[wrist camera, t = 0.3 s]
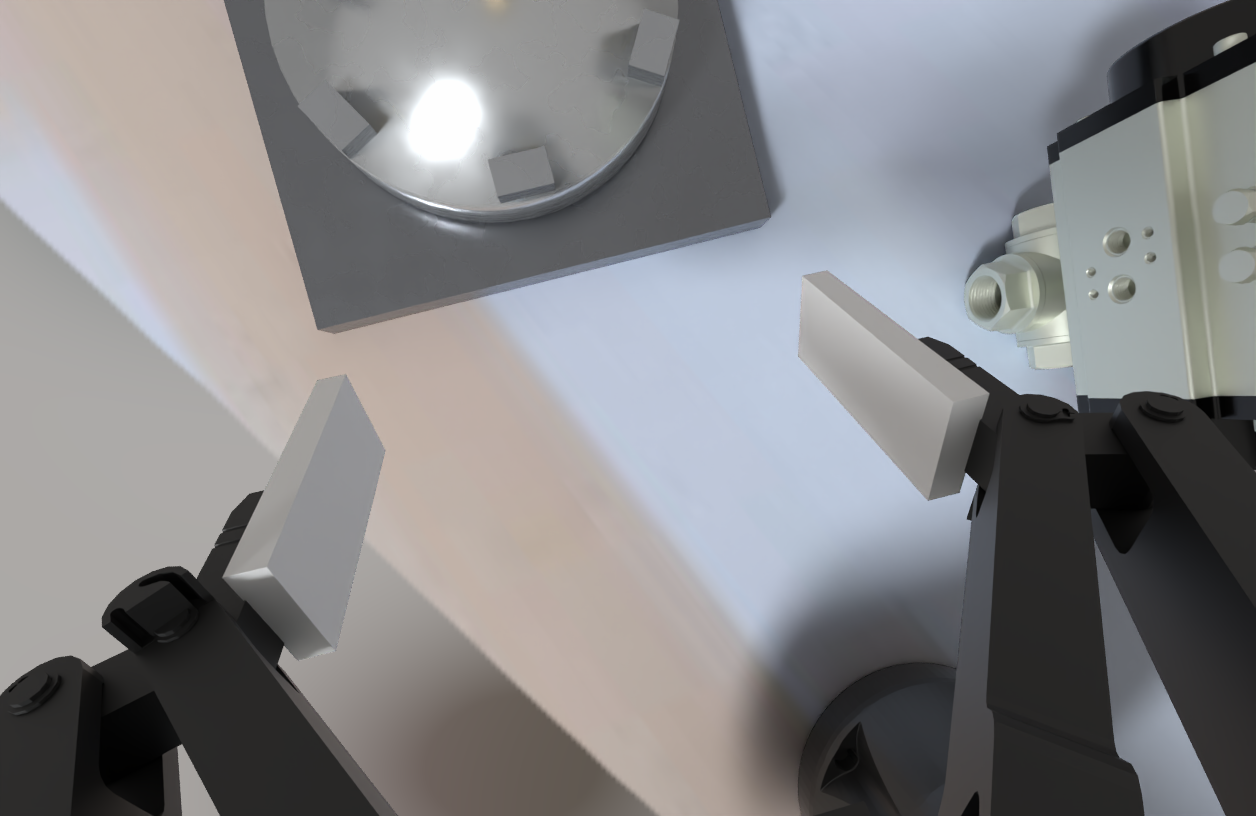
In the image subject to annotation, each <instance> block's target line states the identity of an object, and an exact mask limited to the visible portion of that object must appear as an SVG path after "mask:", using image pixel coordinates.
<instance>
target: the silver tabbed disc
mask: <svg viewBox="0 0 1256 816" xmlns="http://www.w3.org/2000/svg"><path fill="white" fill-rule="evenodd" d="M264 3H265V16H266V20H267V25H268V30H269V35H270V39H271V44H272V46H273V49H274V52H275V55H276V58H277V61H278V63H279V66H280V69H281V71H282V73H283V75H284V77H285V79H286V81H287V83H288V85H289V87H290V89H291V91H292V93H293V95H294V96H295V98H296V99H297V101H298V102H299V105H298V107H299V108H300V109H301V110H302V111H303V112H304V113H305V114H306V115H307V116H308V117H309V119H310V120H311V121H312V122H313V123H314V124H315V125H316V127H317V128H318V129H319V130H320V131H321V132H322V133H323V135H324V136H325V137H326V138H327V139H328V140H329V141H330V142H331V143H332V144H333V145H334V146H335V147H336V148H337V149H338V150H339V151H340V152H341V153H342V154H343V155H344V156H346V157H347V158H348V159H349V160H350V161H351V162H352V163H353V164H354V165H355V166H356V167H357V168H358V169H359V170H361V171H362V172H363V173H364V174H365V175H366V176H367V177H368V178H370V179H371V180H372V181H373V182H374V183H376V184H377V185H379V186H380V187H382V188H383V189H385V190H386V191H388V192H389V193H391V194H392V195H394V196H395V197H397V198H399V199H401V200H403V201H405V202H407V203H409V204H411V205H413V206H415V207H417V208H420V209H423V210H426V211H428V212H431V213H434V214H437V215H440V216H444V217H449V218H453V219H458V220H462V221H472V222H483V223H497V222H514V221H520V220H525V219H531V218H536V217H539V216H542V215H546V214H549V213H552V212H555V211H558V210H560V209H562V208H565V207H567V206H569V205H571V204H573V203H575V202H577V201H579V200H581V199H582V198H584V197H586V196H587V195H589V194H590V193H592V192H593V191H595V190H596V189H598V188H599V187H601V186H602V185H603V184H604V183H605V182H606V181H608V180H609V179H610V178H611V177H612V176H613V175H615V174H616V173H617V172H618V171H619V170H620V168H621V167H622V166H623V165H624V164H625V163H626V162H627V161H628V159H629V158H630V157H631V156H632V155H633V153H634V152H635V150H636V149H637V148H638V146H639V145H640V143H641V142H642V140H643V139H644V137H645V136H646V134H647V132H648V130H649V128H650V126H651V124H652V122H653V120H654V118H655V116H656V113H657V110H658V107H659V104H660V101H661V98H662V95H663V93H664V88H665V84H666V80H667V76H668V72H669V67H670V63H671V59H672V54H673V49H674V44H675V39H676V33H677V29H678V25H679V19H678V0H264Z"/></svg>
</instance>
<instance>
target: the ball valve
mask: <svg viewBox="0 0 1256 816" xmlns="http://www.w3.org/2000/svg"><path fill="white" fill-rule="evenodd" d="M1107 81H1108V90H1109V99H1110V104H1109V105H1107V106H1105V107H1104V108H1102V109H1100V110H1098V111H1097V112H1095V113H1093V114H1091V115H1089V116H1086V117H1083V118H1081V119H1079V120H1078V121H1077V122H1076V123H1075V124H1073V125H1071V126H1070V127H1068V128H1066V129H1064V130H1062V131H1061V132H1059V133H1057V139H1058V141H1057V142H1055V143H1053V144H1051V145H1049V146H1047V152H1048V160H1049V168H1050V177H1051V185H1052V194H1053V202H1054V203H1049V204H1046V205H1042V206H1039V207H1035V208H1032V209H1029V210H1026V211H1024V212H1021V213H1019V214H1017V215H1015V216H1014V217H1013V220H1012V229H1013V238H1014V239H1013V240H1010V241H1008V242H1006V243H1005V249H1006V255H1002V256H1000V257H998V258H996V259H995V260H994V261H993V262H992V263H986V264H982V265H981V266H980V267H978V268H977V269H976V271H975V272H974V273H973V274H972V275H971V276H970V278H969V279H968V281H967V283H966V285H965V289H964V303H965V308H966V312H967V315H968V318H969V319H970V320H971V321H972V322H973V323H974V324H976V325H978V326H979V327H981V328H983V329H986V330H988V331H998V332H1001V333H1004V334H1016V339H1017V341H1018V342H1017V347H1027V352H1028V361H1029V367H1030V368H1031V369H1033V370H1042V369H1055V368H1065V367H1073V370H1074V378H1075V387H1076V395H1077V404H1078V412H1079V413H1114V412H1115V410H1116V407H1117V405H1118V403H1119V401H1120V400H1121V398H1122V397H1123V396H1124V395H1126V394H1129V393H1132V392H1141V391H1151V392H1162V393H1167V394H1170V395H1174V396H1177V397H1180V398H1182V399H1184V400H1186V401H1188V402H1190V403H1193V404H1195V405H1196V406H1197V407H1198V408H1200V409H1201V410H1202V411H1203V412H1204V413H1205V414H1206V415H1207V416H1208V417H1209V418H1210V420H1211V421H1212V422H1213V423H1214V424H1215V425H1216V427H1217V428H1218V429H1219V430H1220V431H1221V432H1222V434H1223V435H1224V436H1225V437H1226V438H1227V440H1228V441H1229V442H1230V443H1231V444H1232V445H1233V447H1234V448H1235V449H1236V450H1237V451H1238V452H1239V454H1240V455H1241V456H1242V457H1243V458H1244V459H1245V461H1246V462H1247V463H1248V464H1249V465H1250V467H1251V468H1252V469H1253V470H1256V0H1229V1H1226V2H1224V3H1221V4H1218V5H1216V6H1213V7H1211V8H1209V9H1206V10H1204V11H1201V12H1199V13H1197V14H1195V15H1192V16H1190V17H1188V18H1186V19H1184V20H1182V21H1180V22H1178V23H1176V24H1174V25H1172V26H1170V27H1167V28H1166V29H1164V30H1162V31H1160V32H1158V33H1156V34H1155V35H1153V36H1151V37H1149V38H1148V39H1146V40H1144V41H1143V42H1141V43H1139V44H1138V45H1136V46H1135V47H1133V48H1132V49H1130V50H1129V51H1128V52H1126V53H1125V54H1124V55H1122V56H1121V57H1120V58H1119V59H1118V60H1117V61H1116V62H1115V63H1114V64H1113V65H1112V66H1111V67H1110V69H1109V71H1108V74H1107Z"/></svg>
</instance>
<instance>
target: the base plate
mask: <svg viewBox="0 0 1256 816" xmlns="http://www.w3.org/2000/svg"><path fill="white" fill-rule="evenodd" d="M224 3H225V6H226V10H227V13H228V17H229V20H230V24H231V27H232V31H233V34H234V38H235V41H236V45H237V48H238V52H239V55H240V59H241V62H242V66H243V69H244V73H245V76H246V80H247V83H248V87H249V90H250V94H251V97H252V101H253V104H254V108H255V111H256V115H257V118H258V122H259V125H260V129H261V132H262V136H263V140H264V143H265V147H266V150H267V154H268V157H269V161H270V164H271V168H272V171H273V175H274V178H275V182H276V185H277V189H278V192H279V196H280V199H281V203H282V206H283V210H284V213H285V217H286V220H287V224H288V227H289V231H290V234H291V238H292V241H293V245H294V248H295V252H296V255H297V259H298V262H299V266H300V269H301V273H302V276H303V280H304V283H305V287H306V291H307V294H308V298H309V301H310V305H311V308H312V312H313V315H314V319H315V322H316V326H317V329H318V330H321V331H325V332H329V333H334V334H335V333H339V332H343V331H347V330H351V329H355V328H359V327H363V326H367V325H371V324H375V323H379V322H383V321H387V320H391V319H395V318H399V317H403V316H407V315H411V314H415V313H419V312H423V311H427V310H431V309H435V308H439V307H444V306H448V305H452V304H456V303H460V302H464V301H468V300H472V299H476V298H480V297H484V296H488V295H492V294H496V293H500V292H504V291H508V290H512V289H516V288H520V287H524V286H528V285H532V284H536V283H540V282H544V281H548V280H552V279H556V278H560V277H564V276H568V275H572V274H576V273H580V272H584V271H588V270H592V269H596V268H600V267H604V266H608V265H612V264H616V263H620V262H624V261H628V260H632V259H636V258H640V257H644V256H648V255H652V254H656V253H660V252H664V251H668V250H672V249H676V248H680V247H684V246H688V245H692V244H696V243H700V242H704V241H708V240H712V239H716V238H720V237H724V236H728V235H732V234H736V233H740V232H744V231H748V230H752V229H756V228H760V227H761V226H762V225H763V224H764V223H765V222H766V221H767V220H769V219H770V218H771V216H770V212H769V208H768V204H767V199H766V195H765V191H764V187H763V183H762V179H761V175H760V171H759V167H758V163H757V159H756V155H755V151H754V147H753V143H752V139H751V135H750V131H749V127H748V123H747V118H746V114H745V110H744V106H743V102H742V98H741V94H740V90H739V86H738V82H737V78H736V74H735V70H734V66H733V62H732V58H731V54H730V50H729V46H728V42H727V38H726V33H725V29H724V25H723V21H722V17H721V13H720V9H719V5H718V1H717V0H678V19H679V25H678V29H677V33H676V39H675V44H674V49H673V54H672V59H671V63H670V67H669V72H668V76H667V80H666V84H665V88H664V93H663V95H662V98H661V101H660V104H659V107H658V110H657V113H656V116H655V118H654V120H653V122H652V124H651V126H650V128H649V130H648V132H647V134H646V136H645V137H644V139H643V140H642V142H641V143H640V145H639V146H638V148H637V149H636V150H635V152H634V153H633V155H632V156H631V157H630V158H629V159H628V161H627V162H626V163H625V164H624V165H623V166H622V167H621V168H620V170H619V171H618V172H617V173H616V174H615V175H613V176H612V177H611V178H610V179H609V180H608V181H606V182H605V183H604V184H603V185H602V186H601V187H599V188H598V189H596V190H595V191H593V192H592V193H590V194H589V195H587V196H586V197H584V198H582V199H581V200H579V201H577V202H575V203H573V204H571V205H569V206H567V207H565V208H562V209H560V210H558V211H555V212H552V213H549V214H546V215H542V216H539V217H536V218H531V219H525V220H520V221H514V222H497V223H483V222H472V221H462V220H458V219H453V218H449V217H444V216H440V215H437V214H434V213H431V212H428V211H426V210H423V209H420V208H417V207H415V206H413V205H411V204H409V203H407V202H405V201H403V200H401V199H399V198H397V197H395V196H394V195H392V194H391V193H389V192H388V191H386V190H385V189H383V188H382V187H380V186H379V185H377V184H376V183H374V182H373V181H372V180H371V179H370V178H368V177H367V176H366V175H365V174H364V173H363V172H362V171H361V170H359V169H358V168H357V167H356V166H355V165H354V164H353V163H352V162H351V161H350V160H349V159H348V158H347V157H346V156H344V155H343V154H342V153H341V152H340V151H339V150H338V149H337V148H336V147H335V146H334V145H333V144H332V143H331V142H330V141H329V140H328V139H327V138H326V137H325V136H324V135H323V133H322V132H321V131H320V130H319V129H318V128H317V127H316V125H315V124H314V123H313V122H312V121H311V120H310V119H309V117H308V116H307V115H306V114H305V113H304V112H303V111H302V110H301V109H300V108H299V107H298V105H299V102H298V101H297V99H296V98H295V96H294V95H293V93H292V91H291V89H290V87H289V85H288V83H287V81H286V79H285V77H284V75H283V73H282V71H281V69H280V66H279V63H278V61H277V58H276V55H275V52H274V49H273V46H272V44H271V39H270V35H269V30H268V25H267V20H266V16H265V3H264V0H224Z"/></svg>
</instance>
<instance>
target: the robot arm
mask: <svg viewBox="0 0 1256 816" xmlns="http://www.w3.org/2000/svg"><path fill="white" fill-rule="evenodd" d="M798 357H799V358H800V359H801V360H802V361H803V362H804V364H805V365H806V366H807V367H808V368H809V369H810V370H811V371H812V372H813V374H814V375H815V376H816V377H817V378H818V379H819V380H820V381H821V382H822V384H823V385H824V386H825V387H826V388H827V389H828V390H829V391H830V392H831V394H832V395H833V396H834V397H835V398H836V399H837V400H838V401H839V402H840V404H841V405H842V406H843V407H844V408H845V409H846V410H847V411H848V412H849V414H850V415H851V416H852V417H853V418H854V419H855V420H856V421H857V422H858V424H859V425H860V426H861V427H862V428H863V429H864V430H865V431H866V432H867V434H868V435H869V436H870V437H871V438H872V439H873V440H874V441H875V442H876V444H877V445H878V446H879V447H880V448H881V449H882V450H883V451H884V452H885V454H886V455H887V456H888V457H889V458H890V459H891V460H892V461H893V462H894V464H895V465H896V466H897V467H898V468H899V469H900V470H901V471H902V472H903V474H904V475H905V476H906V477H907V478H908V479H909V480H910V481H911V482H912V484H913V485H914V486H915V487H916V488H917V489H918V490H919V491H920V492H921V494H922V495H923V496H924V497H925V498H926V499H927V500H928V501H929V500H933V499H937V498H941V497H945V496H948V495H952V494H956V493H960V489H961V486H962V483H963V479H964V476H965V473H967V474H968V475H969V476H970V477H971V478H972V479H973V480H974V481H975V482H976V483H977V484H978V485H977V488H976V492H975V495H974V498H973V501H972V504H971V507H970V510H969V513H968V516H967V520H971V521H972V522H971V532H970V542H969V552H968V562H967V572H966V582H965V592H964V602H963V612H962V622H961V631H960V641H959V651H958V661H957V669H954V668H951V667H947V666H943V665H938V664H929V663H911V664H903V665H897V666H893V667H889V668H885V669H883V670H880V671H877V672H875V673H872V674H870V675H868V676H866V677H864V678H862V679H861V680H859V681H857V682H856V683H854V684H853V685H851V686H850V687H849V688H847V689H846V690H845V691H844V692H842V693H841V694H840V695H839V696H838V697H837V698H836V699H835V700H834V701H833V702H832V703H831V704H830V705H829V706H828V707H827V709H826V710H825V711H824V713H823V714H822V715H821V717H820V718H819V720H818V721H817V723H816V725H815V726H814V728H813V730H812V732H811V734H810V736H809V738H808V741H807V743H806V746H805V748H804V752H803V755H802V759H801V763H800V769H799V777H798V798H799V806H800V811H801V816H1144V808H1143V800H1142V793H1141V789H1140V784H1139V780H1138V776H1137V774H1136V772H1135V770H1134V768H1133V766H1132V764H1130V763H1128V762H1126V761H1125V760H1123V759H1121V758H1119V756H1118V754H1117V752H1116V748H1115V743H1114V735H1113V726H1112V716H1111V706H1110V696H1109V686H1108V676H1107V666H1106V656H1105V647H1104V637H1103V627H1102V617H1101V607H1100V597H1099V587H1098V577H1097V568H1096V558H1095V548H1094V539H1095V541H1096V543H1097V545H1098V547H1099V549H1100V552H1101V554H1102V556H1103V558H1104V560H1105V562H1106V564H1107V566H1108V568H1109V571H1110V573H1111V575H1112V577H1113V579H1114V581H1115V583H1116V585H1117V587H1118V590H1119V592H1120V594H1121V596H1122V598H1123V600H1124V602H1125V604H1126V606H1127V608H1128V611H1129V613H1130V615H1131V617H1132V619H1133V621H1134V623H1135V625H1136V627H1137V630H1138V632H1139V634H1140V636H1141V638H1142V640H1143V642H1144V644H1145V646H1146V649H1147V651H1148V653H1149V655H1150V657H1151V659H1152V661H1153V663H1154V665H1155V667H1156V670H1157V672H1158V674H1159V676H1160V678H1161V680H1162V682H1163V684H1164V686H1165V689H1166V691H1167V693H1168V695H1169V697H1170V699H1171V701H1172V703H1173V705H1174V708H1175V710H1176V712H1177V714H1178V716H1179V718H1180V720H1181V722H1182V724H1183V726H1184V729H1185V731H1186V733H1187V735H1188V737H1189V739H1190V741H1191V743H1192V745H1193V748H1194V750H1195V752H1196V754H1197V756H1198V758H1199V760H1200V762H1201V764H1202V766H1203V769H1204V771H1205V773H1206V775H1207V777H1208V779H1209V781H1210V783H1211V785H1212V788H1213V790H1214V792H1215V794H1216V796H1217V798H1218V800H1219V802H1220V804H1221V807H1222V809H1223V811H1224V813H1225V815H1226V816H1256V472H1255V471H1254V470H1253V469H1252V468H1251V467H1250V465H1249V464H1248V463H1247V462H1246V461H1245V459H1244V458H1243V457H1242V456H1241V455H1240V454H1239V452H1238V451H1237V450H1236V449H1235V448H1234V447H1233V445H1232V444H1231V443H1230V442H1229V441H1228V440H1227V438H1226V437H1225V436H1224V435H1223V434H1222V432H1221V431H1220V430H1219V429H1218V428H1217V427H1216V425H1215V424H1214V423H1213V422H1212V421H1211V420H1210V418H1209V417H1208V416H1207V415H1206V414H1205V413H1204V412H1203V411H1202V410H1201V409H1200V408H1198V407H1197V406H1196V405H1195V404H1193V403H1190V402H1188V401H1186V400H1184V399H1182V398H1180V397H1177V396H1174V395H1170V394H1167V393H1162V392H1151V391H1141V392H1132V393H1129V394H1126V395H1124V396H1123V397H1122V398H1121V400H1120V401H1119V403H1118V405H1117V407H1116V410H1115V412H1114V413H1078V411H1076V410H1075V409H1074V408H1073V407H1071V406H1070V405H1069V404H1067V403H1065V402H1062V401H1060V400H1058V399H1056V398H1052V397H1048V396H1044V395H1035V394H1024V395H1019V394H1017V393H1016V392H1014V391H1013V390H1012V389H1010V388H1009V387H1007V386H1006V385H1005V384H1003V383H1002V382H1000V381H999V380H998V379H996V378H995V377H993V376H992V375H991V374H989V373H988V372H986V371H985V370H984V369H982V368H981V367H977V366H976V364H975V363H974V362H973V361H971V360H970V359H968V358H964V355H963V354H961V353H960V352H959V351H957V350H956V349H954V348H953V347H952V346H950V345H949V344H946V343H943V342H941V341H938V340H935V339H933V338H930V337H925V338H921V339H917V338H916V337H914V336H913V335H912V334H910V333H909V332H908V331H906V330H905V329H904V328H902V327H901V326H900V325H898V324H897V323H896V322H895V321H893V320H892V319H891V318H889V317H888V316H887V315H885V314H884V313H883V312H881V311H880V310H879V309H877V308H876V307H875V306H873V305H872V304H871V303H869V302H868V301H867V300H866V299H864V298H863V297H862V296H860V295H859V294H858V293H856V292H855V291H854V290H852V289H851V288H850V287H848V286H847V285H846V284H844V283H843V282H842V281H840V280H839V279H838V278H836V277H835V276H834V275H833V274H831V273H830V272H829V271H822V272H818V273H813V274H808V275H804V276H802V292H801V311H800V330H799V349H798ZM384 454H385V449H384V447H383V445H382V443H381V441H380V439H379V437H378V435H377V433H376V431H375V429H374V427H373V425H372V424H371V422H370V420H369V418H368V416H367V414H366V412H365V410H364V408H363V406H362V404H361V402H360V400H359V398H358V397H357V395H356V393H355V391H354V389H353V387H352V385H351V383H350V381H349V379H348V377H347V375H346V374H345V375H340V376H336V377H331V378H326V379H322V380H317V382H316V384H315V386H314V388H313V390H312V393H311V395H310V397H309V399H308V401H307V403H306V405H305V407H304V409H303V411H302V413H301V415H300V417H299V420H298V422H297V424H296V426H295V428H294V430H293V432H292V434H291V436H290V438H289V440H288V442H287V444H286V446H285V449H284V451H283V453H282V455H281V457H280V459H279V461H278V463H277V465H276V467H275V469H274V471H273V473H272V476H271V478H270V480H269V482H268V484H267V486H266V488H265V490H264V491H259V492H255V493H251V494H249V495H248V496H247V497H246V498H245V499H244V500H243V501H242V502H241V503H240V504H239V505H238V506H237V507H236V508H235V509H234V510H233V511H232V512H231V514H230V516H229V518H228V520H227V522H226V524H225V526H224V528H223V530H222V531H223V533H221V534H220V535H219V537H218V539H217V541H216V543H215V548H213V549H212V551H211V553H210V554H209V556H208V558H207V560H206V562H205V564H204V566H203V567H202V569H201V571H200V573H199V575H198V577H197V579H196V578H195V577H194V576H193V575H192V574H191V573H190V572H189V571H188V570H186V569H184V568H183V567H181V566H177V567H176V566H175V567H165V568H162V569H159V570H156V571H152V572H151V573H149V574H147V575H145V576H143V577H141V578H139V579H137V580H136V581H134V582H133V583H132V584H130V585H129V586H128V587H126V588H125V589H124V590H122V591H121V592H120V593H119V594H118V595H117V596H116V597H115V598H114V599H113V600H112V602H111V603H110V604H109V605H108V607H107V609H106V610H105V612H104V614H103V616H102V627H103V628H104V629H105V630H106V631H107V632H109V633H110V634H111V635H112V636H113V637H115V638H116V639H117V640H118V641H120V642H121V643H122V644H123V645H124V646H126V647H127V648H128V650H126V651H124V652H122V653H120V654H118V655H116V656H113V657H111V658H109V659H107V660H105V661H103V662H101V663H99V664H97V665H95V666H92V667H90V666H89V665H87V664H86V663H85V662H83V661H82V660H81V659H79V658H76V657H73V656H65V657H58V658H55V659H53V660H50V661H48V662H46V663H43V664H41V665H39V666H37V667H36V668H34V669H32V670H31V671H29V672H28V673H26V674H24V675H23V676H21V677H20V678H19V679H17V680H16V681H15V682H14V683H12V684H11V685H10V686H9V687H8V688H7V689H6V690H5V691H4V692H3V693H2V694H1V696H0V816H182V810H181V794H180V780H179V765H178V751H177V746H179V745H181V744H183V746H184V748H185V750H186V752H187V754H188V756H189V758H190V759H191V761H192V763H193V765H194V767H195V769H196V771H197V773H198V775H199V777H200V778H201V780H202V782H203V784H204V786H205V788H206V790H207V792H208V794H209V795H210V797H211V799H212V801H213V803H214V805H215V807H216V809H217V811H218V813H219V814H220V816H398V815H397V814H396V813H395V811H394V810H393V809H392V808H391V806H390V805H389V804H388V802H387V801H386V800H385V799H384V797H383V796H382V795H381V793H380V792H379V791H378V790H377V788H376V787H375V786H374V785H373V783H372V782H371V781H370V779H369V778H368V777H367V776H366V774H365V773H364V772H363V771H362V769H361V768H360V767H359V766H358V764H357V763H356V762H355V760H354V759H353V758H352V757H351V755H350V754H349V753H348V751H347V750H346V749H345V748H344V746H343V745H342V744H341V742H340V741H339V740H338V739H337V737H336V736H335V735H334V734H333V732H332V731H331V730H330V728H329V727H328V726H327V725H326V723H325V722H324V721H323V720H322V718H321V717H320V716H319V714H318V713H317V712H316V711H315V709H314V708H313V707H312V706H311V704H310V703H309V702H308V700H307V699H306V698H305V697H304V696H303V694H302V693H301V692H300V690H299V689H298V688H297V686H296V685H295V684H294V683H293V681H292V680H291V679H290V678H289V676H288V675H287V674H286V672H285V671H284V670H283V669H282V668H281V667H280V666H279V665H278V661H279V658H280V655H281V652H282V649H283V646H285V647H286V648H287V649H288V650H289V652H290V653H291V654H292V655H293V656H294V657H295V658H296V659H297V660H298V661H299V660H303V659H307V658H311V657H315V656H319V655H323V654H327V653H331V652H334V651H336V648H337V644H338V640H339V636H340V632H341V627H342V624H343V620H344V616H345V611H346V608H347V604H348V599H349V596H350V592H351V588H352V584H353V580H354V575H355V571H356V567H357V563H358V559H359V555H360V551H361V547H362V543H363V539H364V535H365V531H366V527H367V523H368V519H369V515H370V511H371V507H372V503H373V499H374V495H375V491H376V487H377V483H378V478H379V474H380V470H381V466H382V462H383V458H384ZM1093 537H1094V538H1093Z"/></svg>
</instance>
